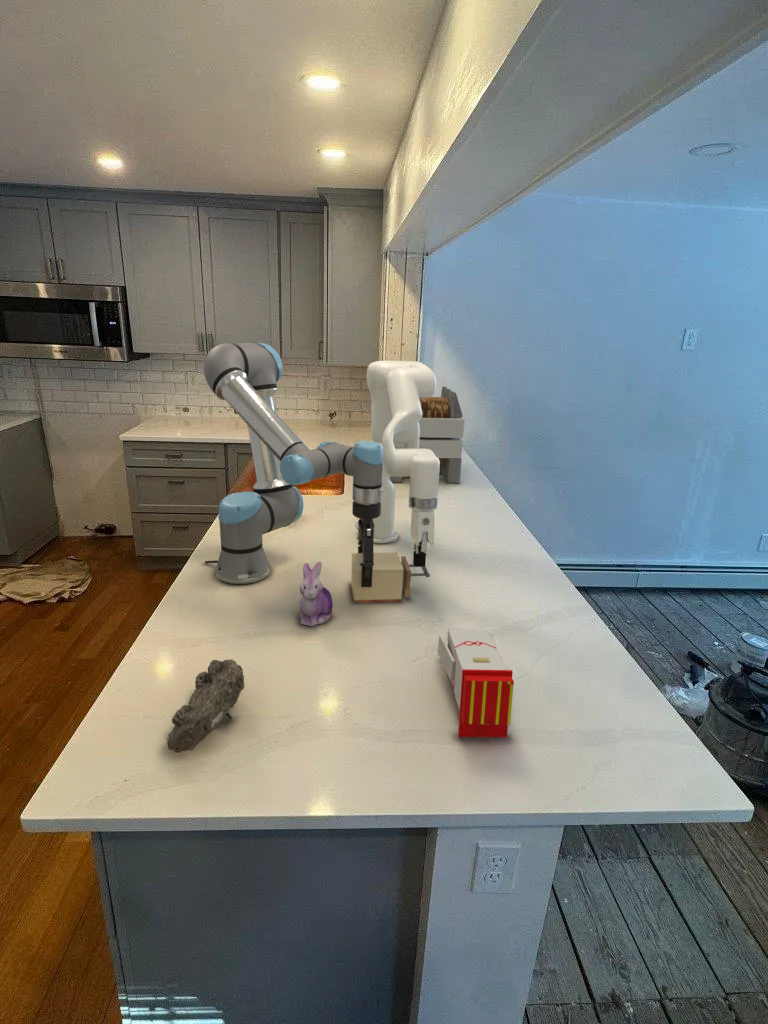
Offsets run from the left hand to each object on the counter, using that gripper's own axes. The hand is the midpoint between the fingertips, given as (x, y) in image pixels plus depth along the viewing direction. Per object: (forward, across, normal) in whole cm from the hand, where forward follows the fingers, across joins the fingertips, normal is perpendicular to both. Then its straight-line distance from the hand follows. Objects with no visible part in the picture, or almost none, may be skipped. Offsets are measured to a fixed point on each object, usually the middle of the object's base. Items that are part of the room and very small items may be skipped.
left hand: (364, 576), depth 156 cm
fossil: (+5, -48, +34) cm, 59 cm away
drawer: (+4, 0, -9) cm, 10 cm away
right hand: (-4, -1, -15) cm, 15 cm away
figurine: (+5, -13, +14) cm, 19 cm away
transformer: (+5, +121, -39) cm, 127 cm away
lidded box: (+5, 0, -3) cm, 6 cm away
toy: (+5, -44, -18) cm, 48 cm away
